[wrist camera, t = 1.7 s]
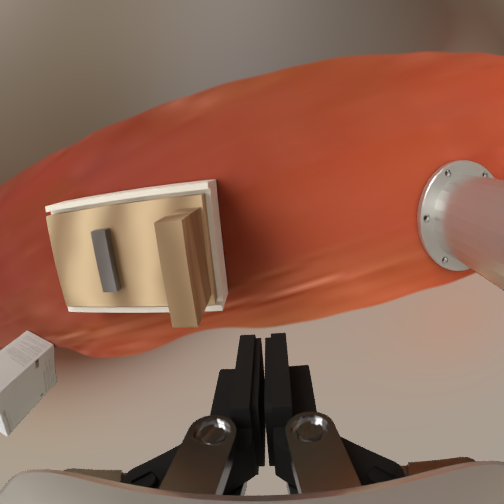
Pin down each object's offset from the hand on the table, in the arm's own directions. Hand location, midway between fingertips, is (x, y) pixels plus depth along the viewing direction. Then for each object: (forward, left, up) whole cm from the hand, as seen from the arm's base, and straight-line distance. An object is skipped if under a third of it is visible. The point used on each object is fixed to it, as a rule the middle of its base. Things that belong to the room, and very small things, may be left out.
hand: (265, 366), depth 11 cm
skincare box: (+36, +16, -22) cm, 45 cm away
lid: (+14, 0, -18) cm, 23 cm away
